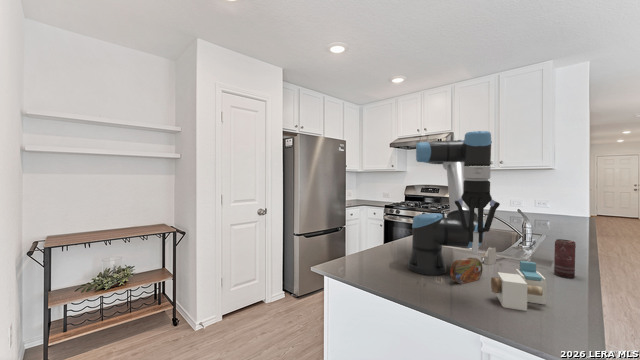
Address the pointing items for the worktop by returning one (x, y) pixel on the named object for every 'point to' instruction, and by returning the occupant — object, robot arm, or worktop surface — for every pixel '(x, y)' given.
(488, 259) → the architectural model
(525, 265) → the teal toy chair
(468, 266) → the tin
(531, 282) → the block
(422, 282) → the worktop surface
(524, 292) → the cream block
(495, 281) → the pin
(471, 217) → the robot arm
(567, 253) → the can
